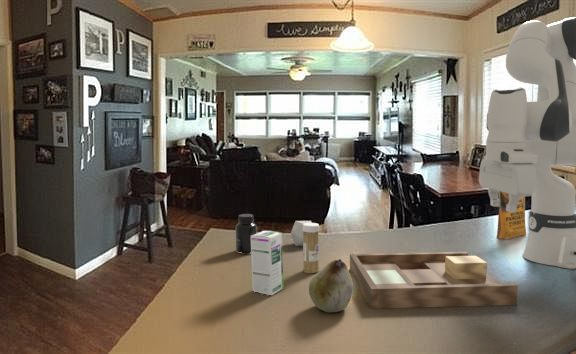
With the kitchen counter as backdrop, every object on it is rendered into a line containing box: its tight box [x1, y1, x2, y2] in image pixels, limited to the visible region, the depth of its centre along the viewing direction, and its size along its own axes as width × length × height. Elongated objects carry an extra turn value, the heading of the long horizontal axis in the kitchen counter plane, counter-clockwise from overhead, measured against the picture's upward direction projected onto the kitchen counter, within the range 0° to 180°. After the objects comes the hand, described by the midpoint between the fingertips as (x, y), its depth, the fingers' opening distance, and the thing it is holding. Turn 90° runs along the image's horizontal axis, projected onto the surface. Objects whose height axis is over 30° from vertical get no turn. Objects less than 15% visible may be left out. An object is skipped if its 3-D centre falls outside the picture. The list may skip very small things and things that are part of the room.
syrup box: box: [250, 230, 284, 296], centre depth 111 cm, size 6×6×14 cm
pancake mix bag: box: [496, 191, 527, 240], centre depth 162 cm, size 7×19×28 cm, turn 123°
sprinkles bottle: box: [302, 222, 320, 274], centre depth 125 cm, size 5×5×14 cm
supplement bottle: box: [235, 213, 258, 253], centre depth 145 cm, size 7×7×12 cm
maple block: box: [445, 255, 488, 279], centre depth 114 cm, size 8×6×4 cm
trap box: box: [349, 251, 519, 310], centre depth 114 cm, size 33×27×4 cm
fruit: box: [308, 258, 354, 314], centre depth 100 cm, size 10×9×12 cm
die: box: [290, 220, 313, 247], centre depth 153 cm, size 8×9×10 cm
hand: (502, 209), depth 113 cm, fingers open, 6 cm apart
